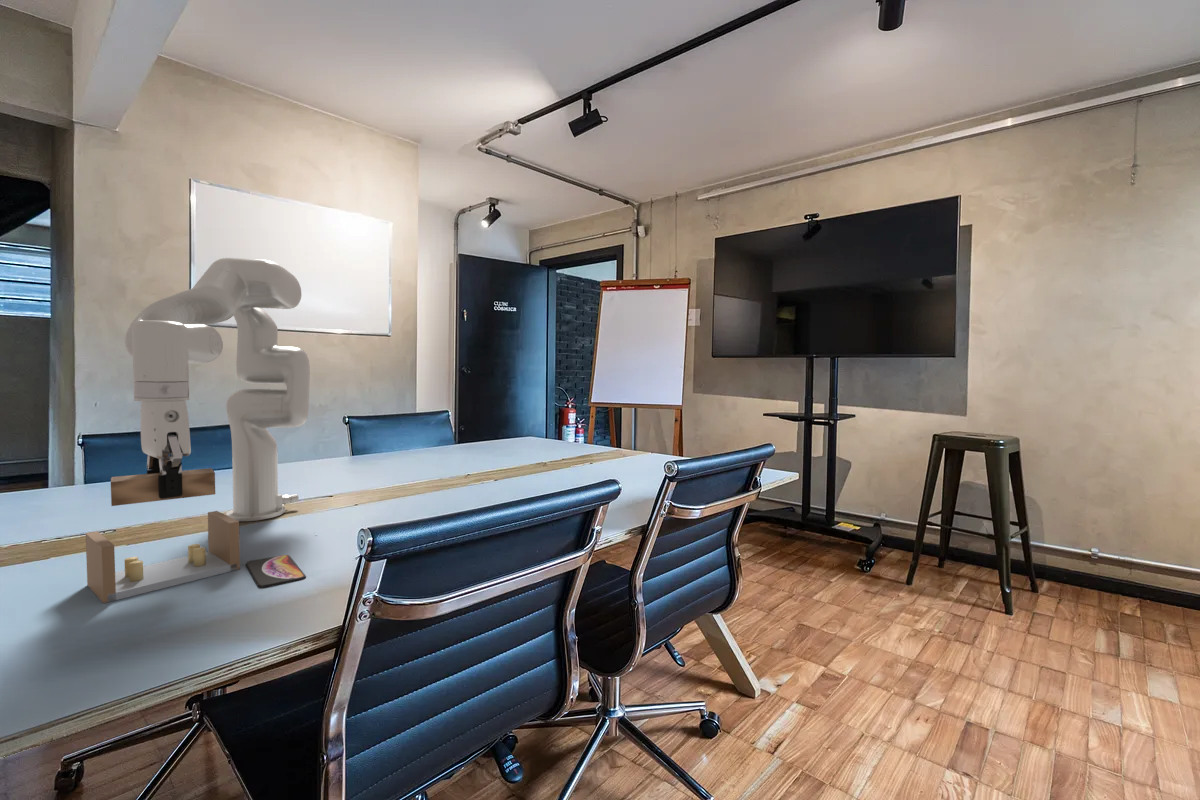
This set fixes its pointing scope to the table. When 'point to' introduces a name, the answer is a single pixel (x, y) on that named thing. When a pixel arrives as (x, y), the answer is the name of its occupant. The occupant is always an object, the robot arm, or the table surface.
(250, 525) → the table surface
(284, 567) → the smartphone
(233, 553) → the peg stand
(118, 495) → the shelf board
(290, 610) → the table surface
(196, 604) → the table surface
